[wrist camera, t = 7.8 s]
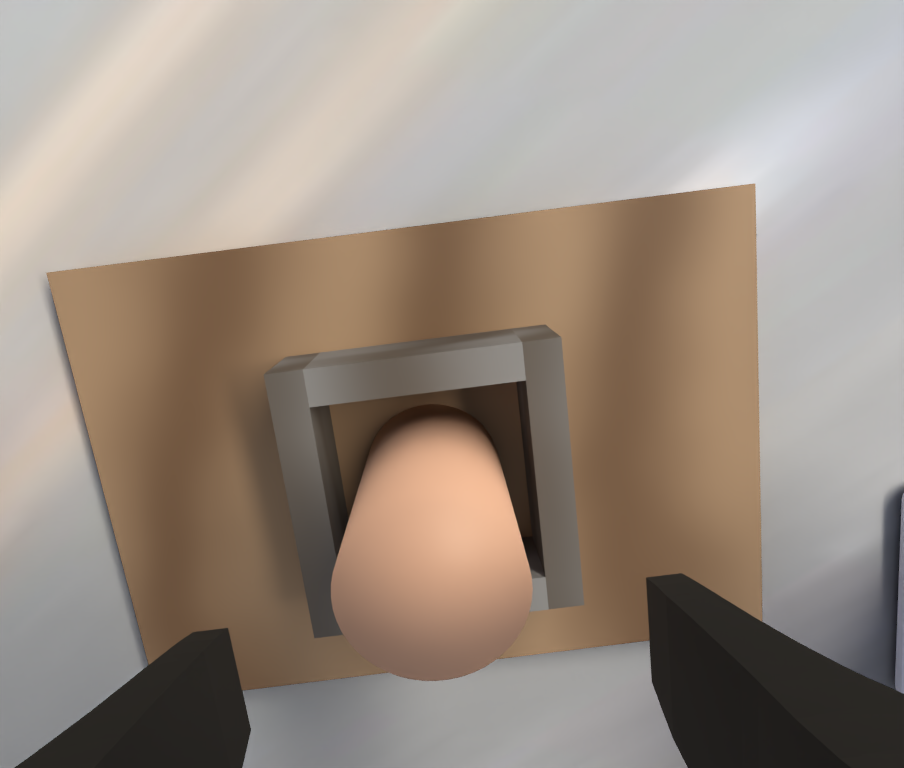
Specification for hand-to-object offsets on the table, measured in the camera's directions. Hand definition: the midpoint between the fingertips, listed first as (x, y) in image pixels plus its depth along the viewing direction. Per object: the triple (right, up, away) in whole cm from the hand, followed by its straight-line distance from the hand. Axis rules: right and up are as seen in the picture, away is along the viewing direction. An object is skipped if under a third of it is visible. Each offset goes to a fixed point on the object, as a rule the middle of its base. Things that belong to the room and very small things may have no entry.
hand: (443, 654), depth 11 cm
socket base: (0, +2, +10) cm, 10 cm away
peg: (0, +2, +9) cm, 9 cm away
